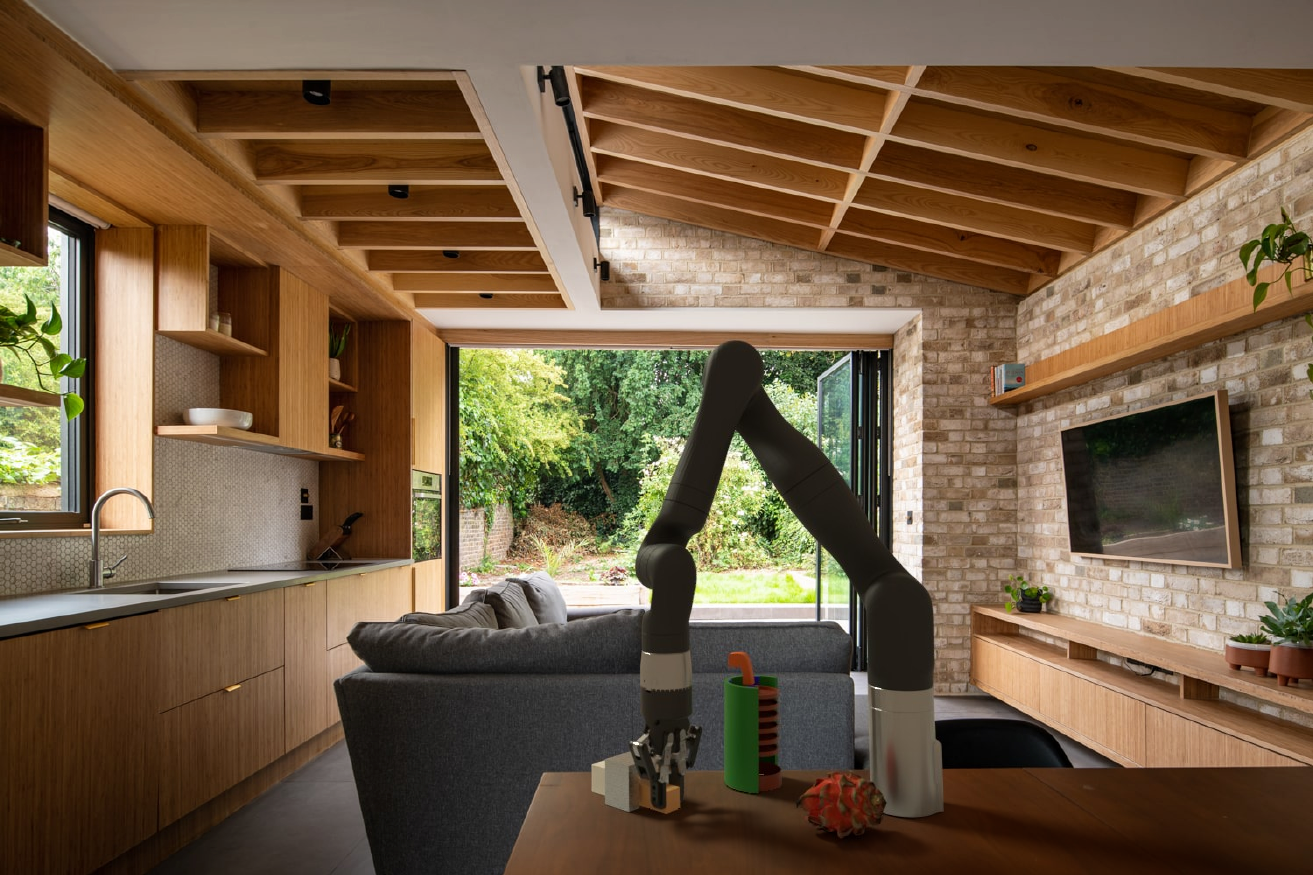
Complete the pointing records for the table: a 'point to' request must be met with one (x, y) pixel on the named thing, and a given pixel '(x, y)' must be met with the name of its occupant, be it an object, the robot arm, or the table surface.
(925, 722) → the robot arm
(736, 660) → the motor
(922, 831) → the table surface
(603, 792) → the plug
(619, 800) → the block
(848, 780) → the dragon fruit
